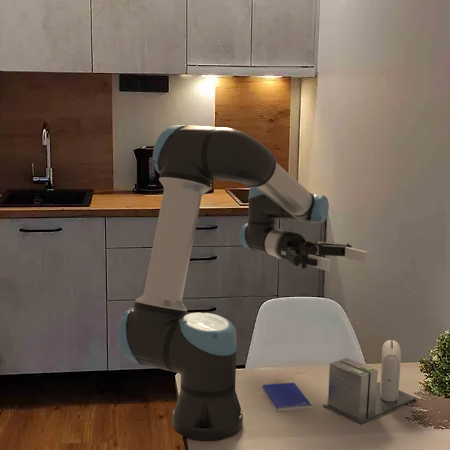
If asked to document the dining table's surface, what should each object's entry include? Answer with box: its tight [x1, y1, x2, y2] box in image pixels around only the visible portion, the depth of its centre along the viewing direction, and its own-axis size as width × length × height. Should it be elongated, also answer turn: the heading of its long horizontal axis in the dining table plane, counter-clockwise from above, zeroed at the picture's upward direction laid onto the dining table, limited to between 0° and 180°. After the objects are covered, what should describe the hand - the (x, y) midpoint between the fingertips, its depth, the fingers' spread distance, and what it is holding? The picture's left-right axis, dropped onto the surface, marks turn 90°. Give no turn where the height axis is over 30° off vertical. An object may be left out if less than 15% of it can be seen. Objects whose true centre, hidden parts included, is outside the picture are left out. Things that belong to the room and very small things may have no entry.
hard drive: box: [262, 382, 313, 412], centre depth 167 cm, size 2×8×12 cm
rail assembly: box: [322, 357, 417, 425], centre depth 164 cm, size 20×11×11 cm, turn 130°
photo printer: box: [379, 339, 402, 402], centre depth 168 cm, size 10×4×12 cm, turn 168°
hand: (348, 261), depth 174 cm, fingers open, 13 cm apart
